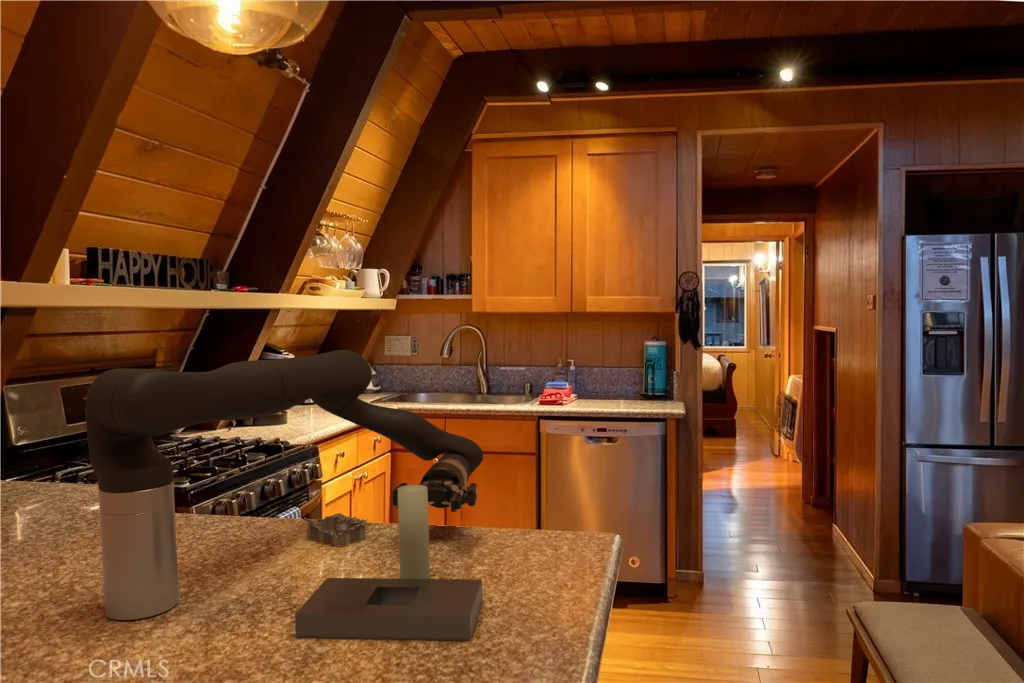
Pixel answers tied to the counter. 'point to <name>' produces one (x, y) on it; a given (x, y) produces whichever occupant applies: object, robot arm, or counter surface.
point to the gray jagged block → (336, 529)
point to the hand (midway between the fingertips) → (427, 505)
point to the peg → (413, 532)
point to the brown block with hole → (391, 609)
